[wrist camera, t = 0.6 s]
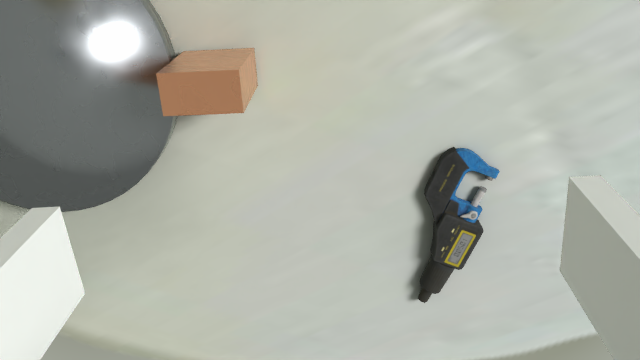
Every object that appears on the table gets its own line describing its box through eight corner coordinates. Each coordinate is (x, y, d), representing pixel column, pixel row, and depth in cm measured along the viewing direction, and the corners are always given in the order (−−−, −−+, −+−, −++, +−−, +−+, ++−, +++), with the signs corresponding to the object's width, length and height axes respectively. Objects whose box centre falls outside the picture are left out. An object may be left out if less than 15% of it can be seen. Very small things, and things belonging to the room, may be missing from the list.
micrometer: (452, 147, 39) (520, 174, 39) (446, 138, 40) (512, 163, 41) (378, 290, 43) (440, 312, 44) (376, 276, 45) (436, 298, 45)
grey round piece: (-142, -66, 35) (-231, -64, 30) (240, -89, 34) (221, -91, 29) (-51, 206, 42) (-110, 248, 37) (268, 195, 41) (257, 237, 36)
